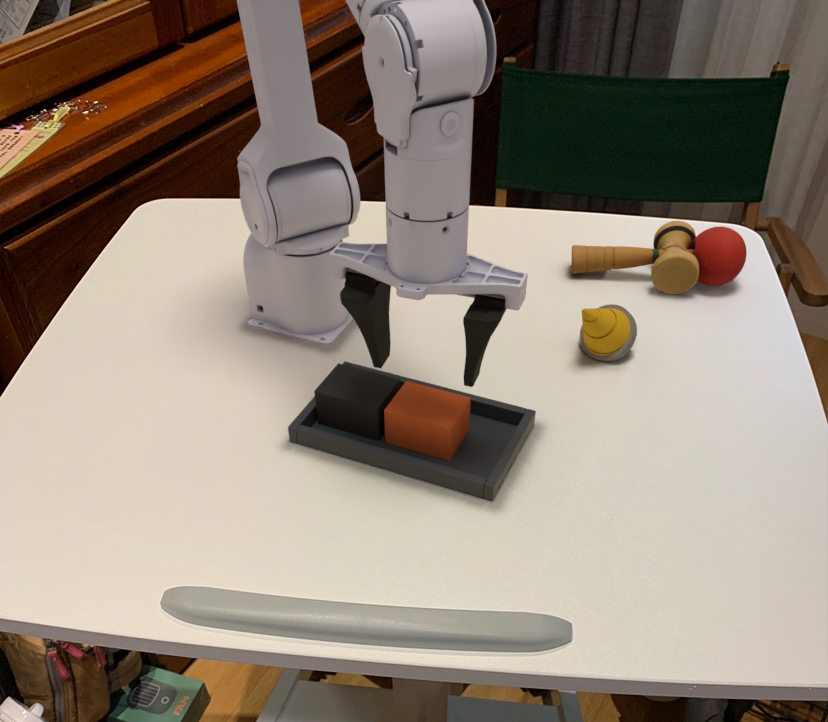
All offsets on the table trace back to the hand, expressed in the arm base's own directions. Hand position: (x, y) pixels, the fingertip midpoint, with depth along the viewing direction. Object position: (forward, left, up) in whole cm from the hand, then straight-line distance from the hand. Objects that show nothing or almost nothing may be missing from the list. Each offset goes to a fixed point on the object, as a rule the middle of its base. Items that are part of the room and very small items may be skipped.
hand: (426, 370), depth 66 cm
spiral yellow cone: (+11, +18, -8) cm, 22 cm away
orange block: (0, 0, -7) cm, 7 cm away
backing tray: (-1, 0, -7) cm, 7 cm away
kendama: (+12, +35, -8) cm, 38 cm away
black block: (-6, 0, -7) cm, 9 cm away
